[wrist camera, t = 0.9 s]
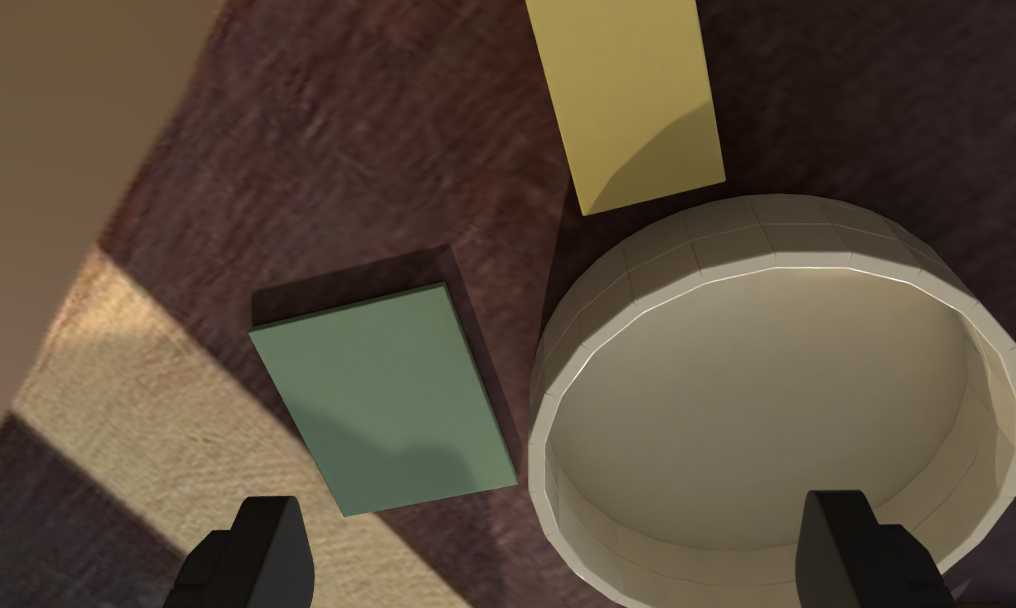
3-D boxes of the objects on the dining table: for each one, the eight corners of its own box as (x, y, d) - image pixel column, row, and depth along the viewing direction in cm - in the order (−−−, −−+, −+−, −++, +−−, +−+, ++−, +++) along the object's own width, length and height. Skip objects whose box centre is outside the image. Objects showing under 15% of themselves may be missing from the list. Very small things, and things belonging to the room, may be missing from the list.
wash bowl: (476, 257, 30) (466, 322, 27) (972, 137, 27) (1042, 189, 24) (585, 576, 39) (590, 661, 35) (977, 510, 36) (1030, 595, 32)
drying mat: (250, 327, 32) (247, 332, 32) (445, 280, 31) (443, 285, 31) (346, 511, 37) (344, 517, 37) (518, 477, 36) (518, 484, 35)
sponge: (525, -26, 25) (523, -8, 23) (671, -70, 25) (686, -57, 22) (579, 181, 29) (582, 217, 26) (709, 148, 28) (726, 181, 25)
